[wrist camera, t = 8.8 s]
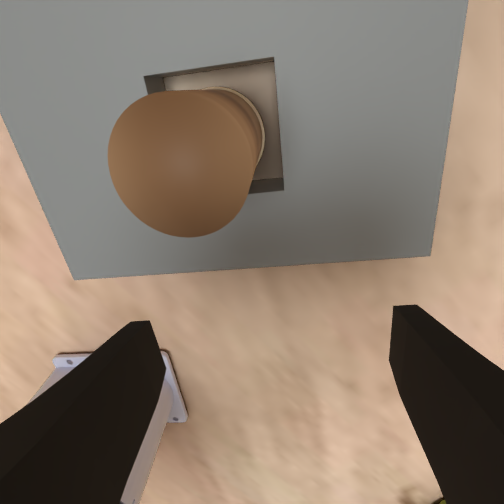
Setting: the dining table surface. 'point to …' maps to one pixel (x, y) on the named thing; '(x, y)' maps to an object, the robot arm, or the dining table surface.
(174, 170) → the walnut peg
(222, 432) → the dining table surface
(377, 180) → the hole board
